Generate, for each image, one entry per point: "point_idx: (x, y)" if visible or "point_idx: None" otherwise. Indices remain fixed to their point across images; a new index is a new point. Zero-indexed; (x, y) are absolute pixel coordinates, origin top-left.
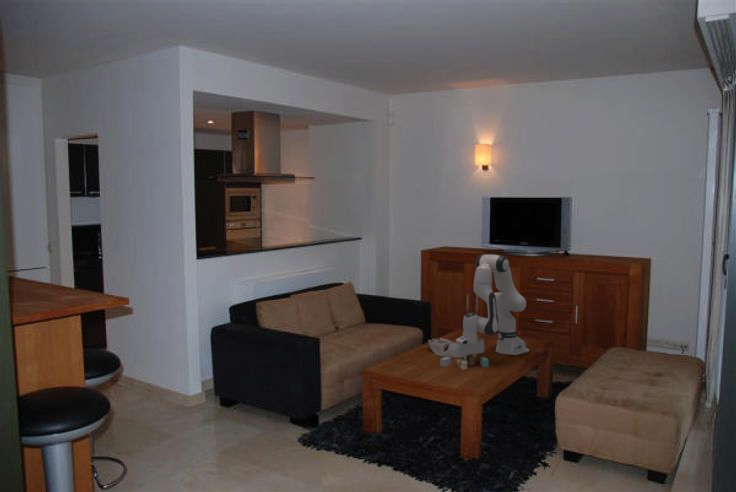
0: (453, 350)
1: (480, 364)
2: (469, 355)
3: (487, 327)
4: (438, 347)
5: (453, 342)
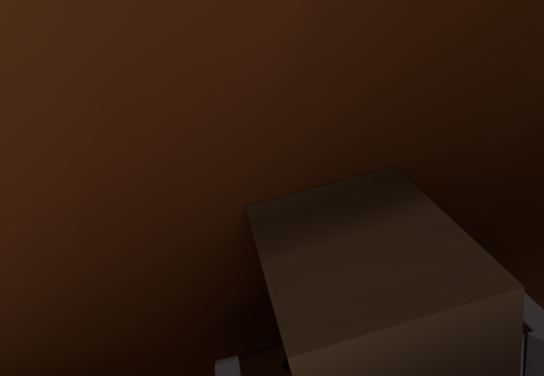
0: None
1: None
2: (517, 311)
3: None
4: None
5: None
